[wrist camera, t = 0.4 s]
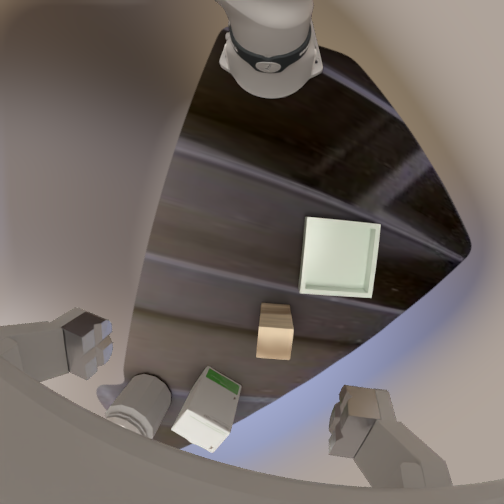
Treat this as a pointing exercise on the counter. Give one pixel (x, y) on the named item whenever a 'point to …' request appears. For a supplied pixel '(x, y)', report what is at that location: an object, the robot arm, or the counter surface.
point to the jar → (141, 405)
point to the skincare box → (208, 410)
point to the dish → (338, 257)
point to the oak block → (275, 332)
